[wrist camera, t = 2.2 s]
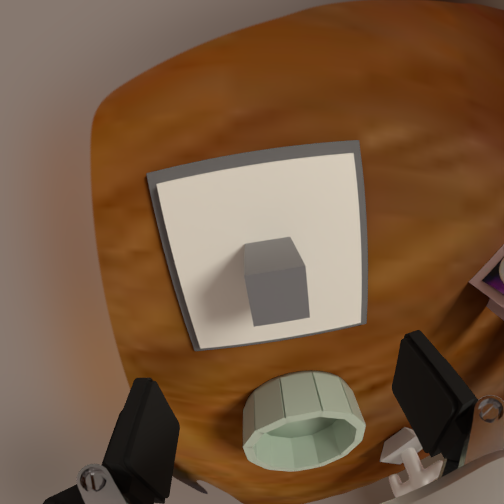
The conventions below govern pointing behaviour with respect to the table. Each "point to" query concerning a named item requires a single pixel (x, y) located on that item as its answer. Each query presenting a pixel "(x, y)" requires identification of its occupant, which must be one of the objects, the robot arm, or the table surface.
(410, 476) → the figurine
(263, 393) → the bowl
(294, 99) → the table surface
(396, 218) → the table surface
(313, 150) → the mat
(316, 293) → the lid
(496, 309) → the greeting card
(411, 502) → the robot arm
